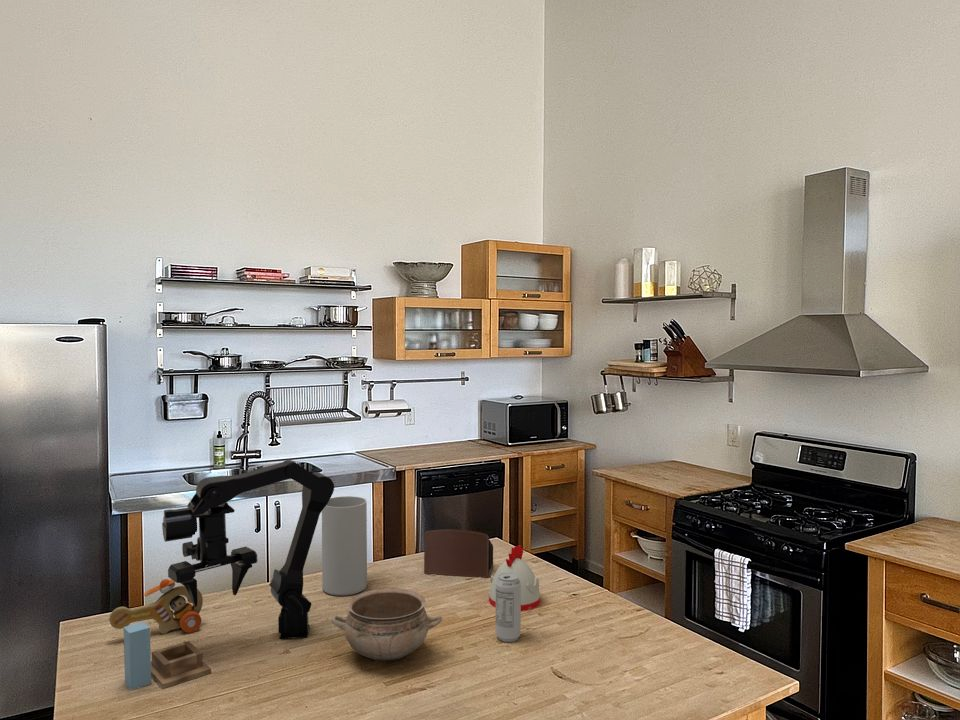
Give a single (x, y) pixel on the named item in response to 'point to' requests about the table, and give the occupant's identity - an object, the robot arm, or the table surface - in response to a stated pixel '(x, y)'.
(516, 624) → the energy drink can
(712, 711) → the table surface
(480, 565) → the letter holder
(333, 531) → the cylinder vase
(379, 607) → the cooking pot
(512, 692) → the table surface
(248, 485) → the robot arm
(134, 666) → the pale blue tower
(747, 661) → the table surface
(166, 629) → the toy helicopter
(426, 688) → the table surface
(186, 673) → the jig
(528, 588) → the kitchen timer
